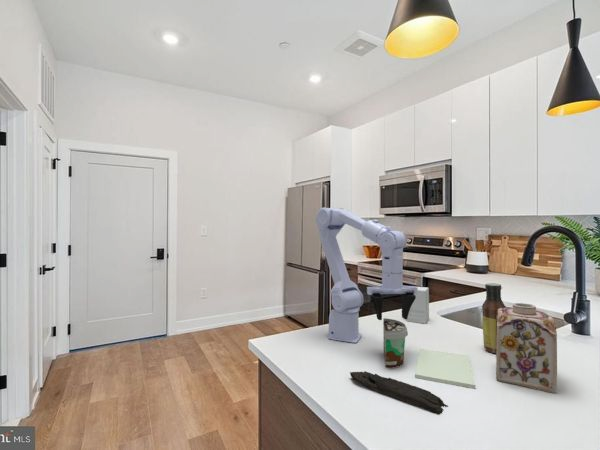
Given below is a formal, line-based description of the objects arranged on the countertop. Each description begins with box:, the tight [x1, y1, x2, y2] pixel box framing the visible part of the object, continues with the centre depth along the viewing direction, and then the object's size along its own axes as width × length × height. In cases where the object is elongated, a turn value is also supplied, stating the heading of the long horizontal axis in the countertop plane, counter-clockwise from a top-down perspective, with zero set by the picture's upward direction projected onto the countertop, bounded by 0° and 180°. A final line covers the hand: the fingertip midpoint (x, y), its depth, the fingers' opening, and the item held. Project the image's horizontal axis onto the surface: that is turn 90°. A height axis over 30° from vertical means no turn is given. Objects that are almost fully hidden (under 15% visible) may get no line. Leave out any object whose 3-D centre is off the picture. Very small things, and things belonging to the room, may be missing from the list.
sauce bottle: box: [482, 282, 507, 355], centre depth 95 cm, size 6×6×20 cm
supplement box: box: [406, 285, 430, 324], centre depth 125 cm, size 7×7×13 cm
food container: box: [382, 317, 408, 369], centre depth 88 cm, size 12×6×10 cm, turn 168°
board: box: [414, 347, 476, 389], centre depth 84 cm, size 13×18×1 cm
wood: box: [349, 371, 449, 415], centre depth 73 cm, size 22×7×3 cm, turn 51°
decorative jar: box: [495, 302, 558, 394], centre depth 79 cm, size 12×12×18 cm
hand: (391, 318), depth 93 cm, fingers open, 7 cm apart
